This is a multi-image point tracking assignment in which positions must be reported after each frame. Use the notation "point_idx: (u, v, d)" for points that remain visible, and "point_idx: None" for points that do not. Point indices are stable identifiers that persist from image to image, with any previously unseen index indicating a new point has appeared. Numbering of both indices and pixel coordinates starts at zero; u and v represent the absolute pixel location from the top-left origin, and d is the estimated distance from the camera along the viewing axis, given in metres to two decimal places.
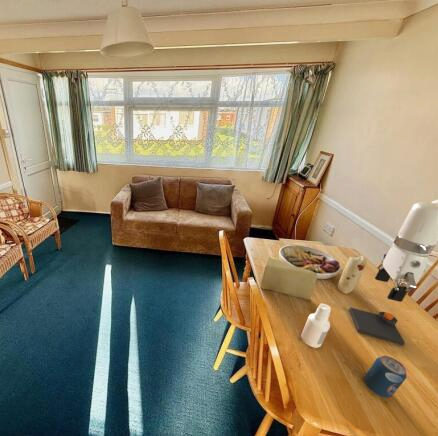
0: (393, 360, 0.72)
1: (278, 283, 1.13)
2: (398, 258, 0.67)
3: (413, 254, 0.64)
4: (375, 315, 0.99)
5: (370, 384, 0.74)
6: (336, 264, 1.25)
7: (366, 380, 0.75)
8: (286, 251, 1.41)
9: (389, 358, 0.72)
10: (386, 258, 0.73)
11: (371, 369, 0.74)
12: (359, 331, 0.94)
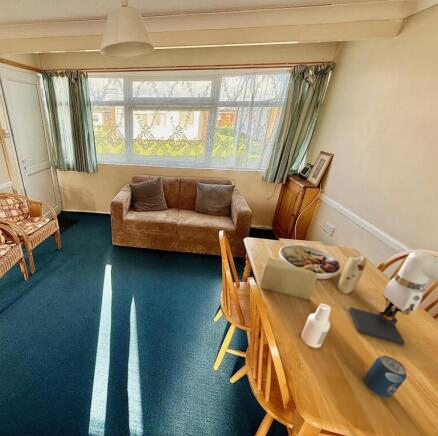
0: (393, 360, 0.72)
1: (278, 283, 1.13)
2: (402, 293, 0.89)
3: (415, 291, 0.86)
4: (375, 315, 0.99)
5: (370, 384, 0.74)
6: (336, 264, 1.25)
7: (366, 380, 0.75)
8: (286, 251, 1.41)
9: (389, 358, 0.72)
10: (387, 290, 0.95)
11: (371, 369, 0.74)
12: (359, 331, 0.94)
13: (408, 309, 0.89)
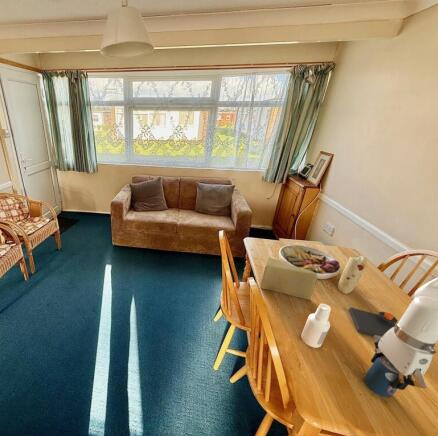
0: None
1: (278, 283, 1.13)
2: (403, 352, 0.65)
3: (421, 352, 0.62)
4: (375, 315, 0.99)
5: (370, 384, 0.74)
6: (336, 264, 1.25)
7: (366, 380, 0.75)
8: (286, 251, 1.41)
9: None
10: (383, 343, 0.71)
11: (371, 369, 0.74)
12: (359, 331, 0.94)
13: (420, 377, 0.63)
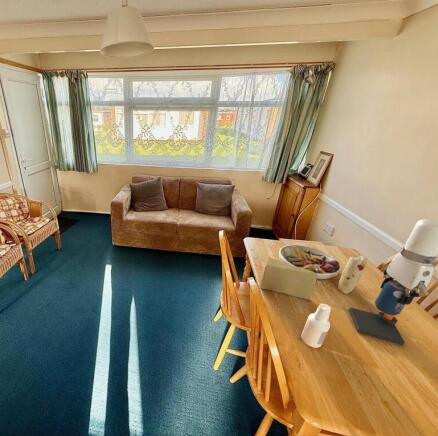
0: None
1: (278, 283, 1.13)
2: (409, 269, 0.76)
3: (424, 265, 0.73)
4: (375, 315, 0.99)
5: (380, 305, 0.85)
6: (336, 264, 1.25)
7: (376, 303, 0.87)
8: (286, 251, 1.41)
9: (396, 281, 0.84)
10: (391, 267, 0.83)
11: (381, 293, 0.85)
12: (359, 331, 0.94)
13: (423, 287, 0.74)
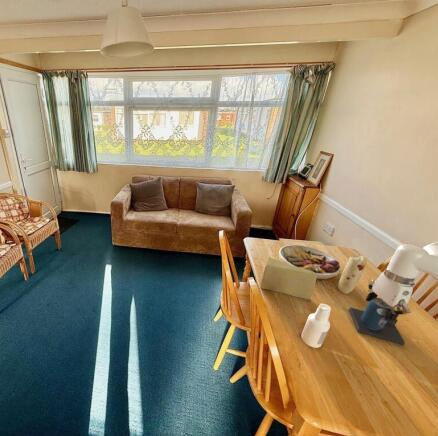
0: None
1: (278, 283, 1.13)
2: (391, 288, 0.85)
3: (404, 286, 0.82)
4: None
5: (365, 320, 0.94)
6: (336, 264, 1.25)
7: (362, 318, 0.95)
8: (286, 251, 1.41)
9: (380, 299, 0.92)
10: (376, 285, 0.91)
11: (366, 309, 0.94)
12: (359, 331, 0.94)
13: (405, 304, 0.82)
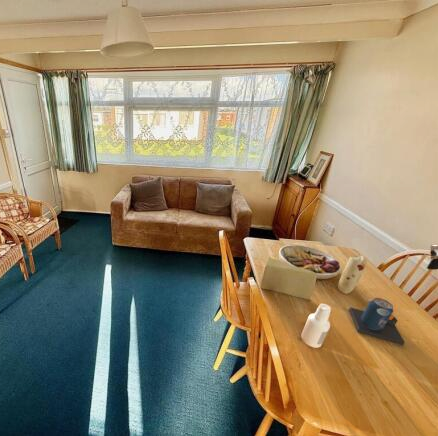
0: (383, 300, 0.92)
1: (278, 283, 1.13)
2: None
3: None
4: None
5: (365, 320, 0.94)
6: (336, 264, 1.25)
7: (362, 318, 0.95)
8: (286, 251, 1.41)
9: (380, 299, 0.92)
10: None
11: (366, 309, 0.94)
12: (359, 331, 0.94)
13: None
